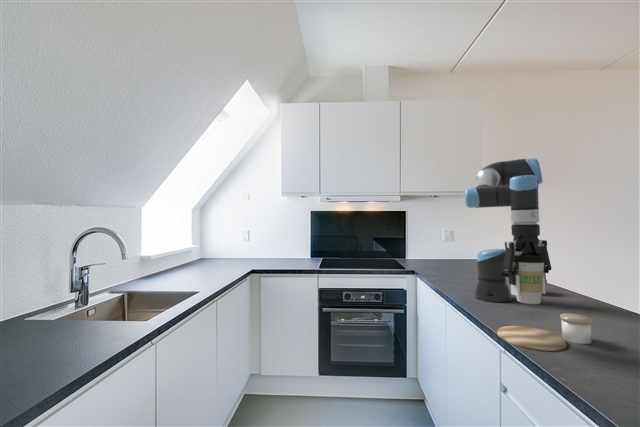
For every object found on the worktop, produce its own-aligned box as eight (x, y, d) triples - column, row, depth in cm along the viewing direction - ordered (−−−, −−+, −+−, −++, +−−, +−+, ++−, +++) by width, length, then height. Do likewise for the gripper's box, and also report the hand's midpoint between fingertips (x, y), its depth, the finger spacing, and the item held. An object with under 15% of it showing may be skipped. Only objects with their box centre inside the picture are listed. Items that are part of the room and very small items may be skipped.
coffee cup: (503, 300, 97) (501, 254, 97) (521, 295, 102) (519, 251, 102) (537, 307, 88) (534, 257, 89) (554, 302, 93) (552, 254, 93)
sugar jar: (554, 336, 96) (553, 314, 96) (574, 333, 98) (573, 312, 98) (579, 345, 89) (577, 322, 89) (599, 343, 90) (598, 320, 90)
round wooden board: (484, 330, 102) (484, 328, 102) (529, 325, 105) (529, 323, 105) (530, 354, 84) (530, 351, 84) (582, 347, 88) (582, 344, 88)
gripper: (505, 225, 90) (508, 299, 90) (564, 222, 94) (567, 294, 93) (487, 224, 97) (490, 293, 97) (542, 222, 101) (545, 288, 101)
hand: (528, 293), depth 95 cm, fingers closed on coffee cup, 9 cm apart
